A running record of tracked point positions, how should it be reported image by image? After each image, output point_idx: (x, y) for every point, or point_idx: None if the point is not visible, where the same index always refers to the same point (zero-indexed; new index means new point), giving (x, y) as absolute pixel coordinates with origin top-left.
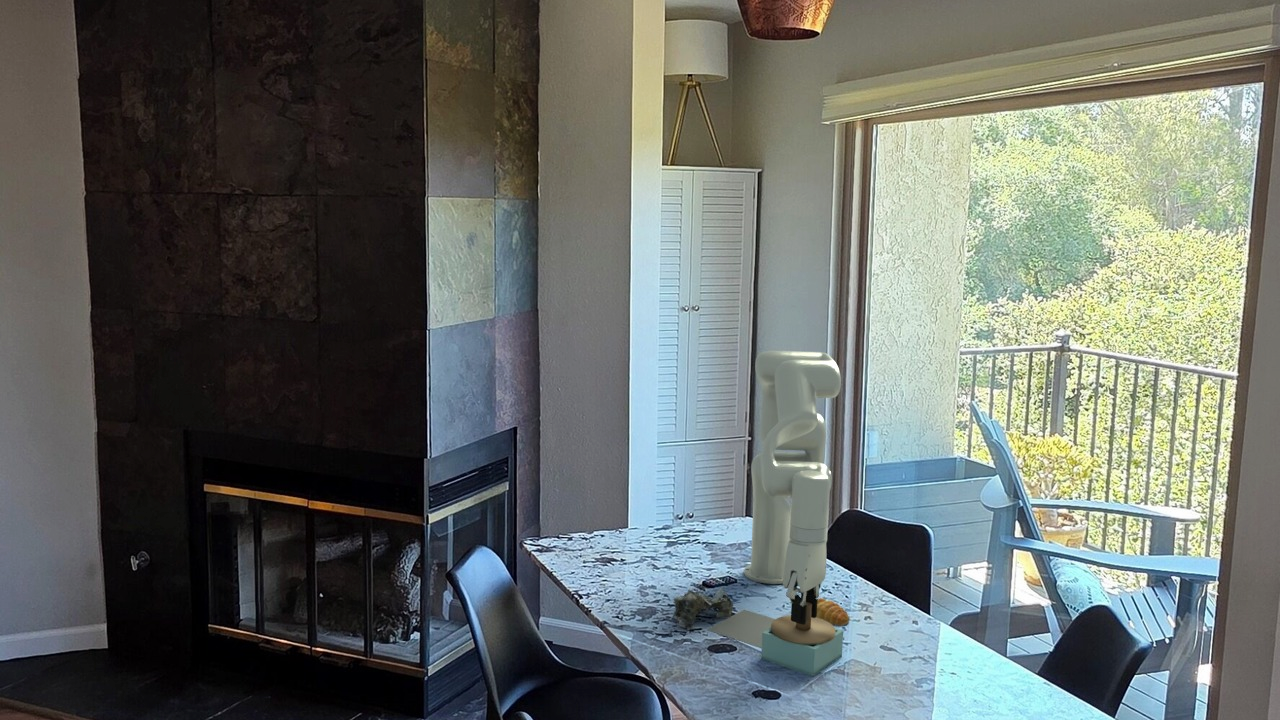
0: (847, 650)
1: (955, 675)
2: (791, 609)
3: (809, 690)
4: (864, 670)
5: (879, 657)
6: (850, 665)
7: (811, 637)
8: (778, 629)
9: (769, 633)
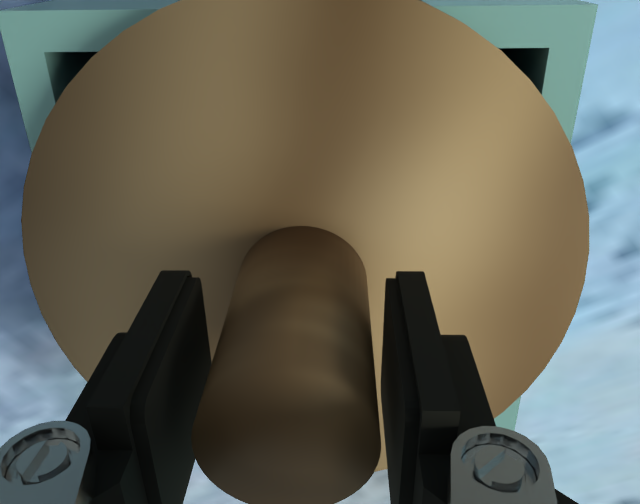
0: (585, 309)
1: None
2: (122, 342)
3: (46, 363)
4: None
5: (586, 438)
6: None
7: None
8: (97, 147)
9: (39, 76)
